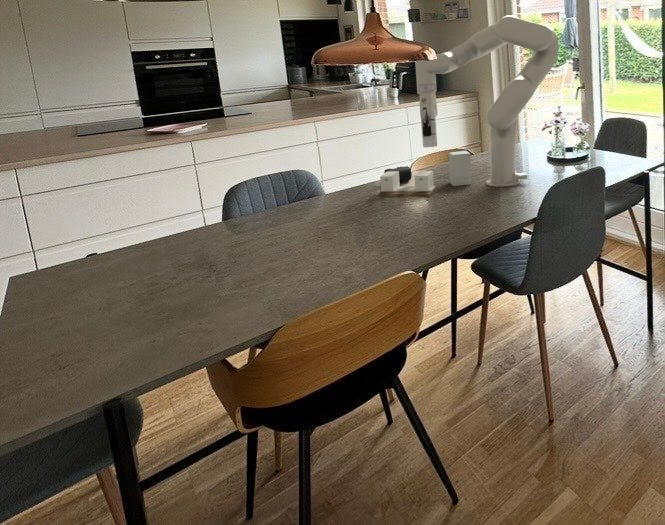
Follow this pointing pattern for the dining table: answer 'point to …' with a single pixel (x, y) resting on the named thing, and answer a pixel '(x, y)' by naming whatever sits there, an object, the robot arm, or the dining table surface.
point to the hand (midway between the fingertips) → (429, 134)
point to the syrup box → (431, 140)
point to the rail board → (407, 192)
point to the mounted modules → (392, 181)
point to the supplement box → (460, 168)
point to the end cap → (402, 173)
